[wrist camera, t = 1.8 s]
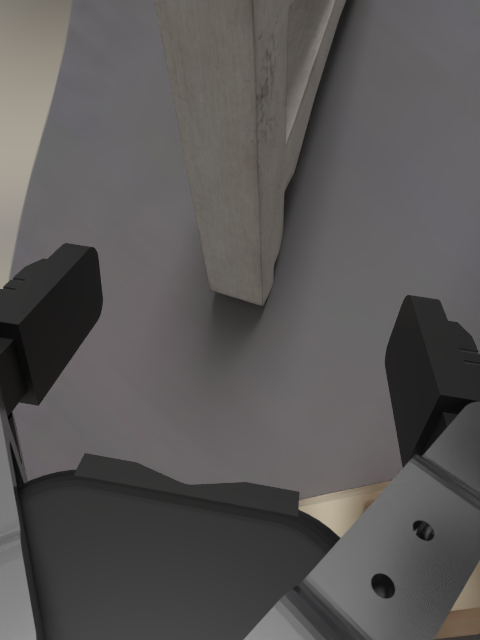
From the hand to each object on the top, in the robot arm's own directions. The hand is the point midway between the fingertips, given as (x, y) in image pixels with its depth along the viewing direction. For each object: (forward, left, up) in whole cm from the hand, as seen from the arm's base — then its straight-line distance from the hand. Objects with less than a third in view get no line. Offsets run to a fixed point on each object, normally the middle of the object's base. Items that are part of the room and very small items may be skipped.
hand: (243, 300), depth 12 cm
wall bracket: (-5, -18, -23) cm, 30 cm away
